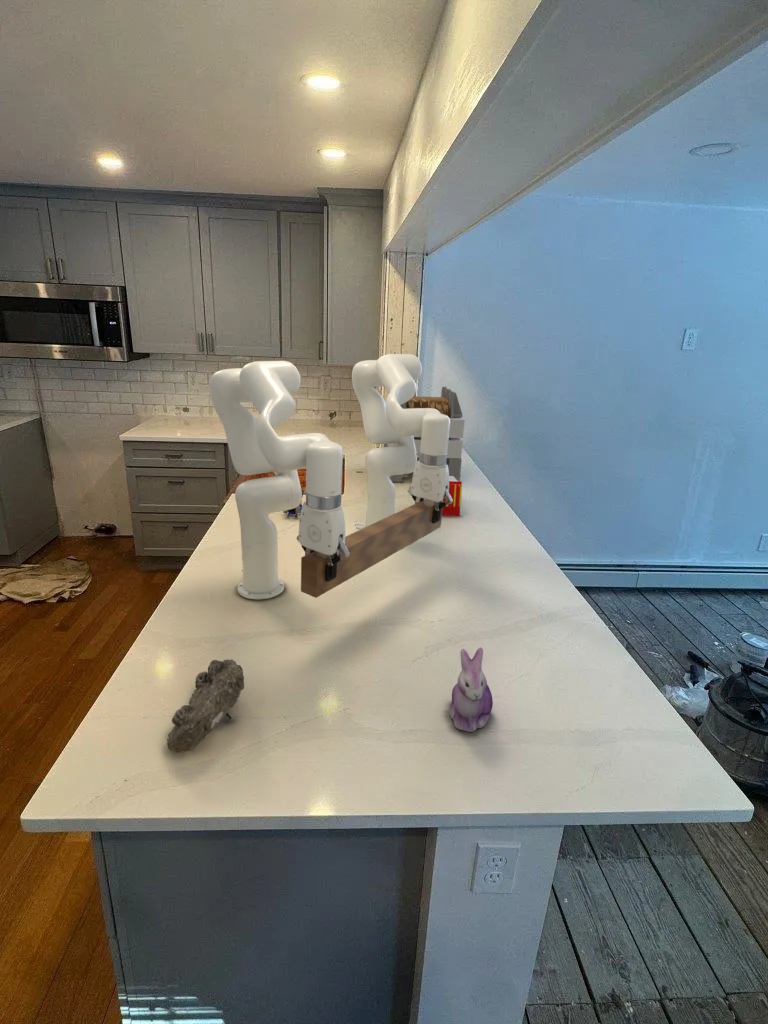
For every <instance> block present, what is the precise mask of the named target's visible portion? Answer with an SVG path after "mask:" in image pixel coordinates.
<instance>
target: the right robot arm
mask: <svg viewBox="0 0 768 1024" xmlns="http://www.w3.org/2000/svg"><path fill="white" fill-rule="evenodd" d="M422 373H423V366H422V363H421V360H420V358H419V357H417V356H416V355H415V354H412V353H387V354H384V355H382V356H380V357H378V358H377V359H368V360H361V361H358V362H357V363H355V364H354V365H353V367H352V371H351V384H352V388H353V391H354V393H355V396H356V398H357V401H358V404H359V405H360V407H359V408H360V412H361V419H362V425H363V429H364V435H365V438H366V440H367V442H368V443H369V444H371V445H384V444H391V443H396V445H397V446H395V447H384V446H380V447H374V448H372V449H370V450H369V451H368V452H367V453H366V455H365V460H364V462H365V463H364V464H365V470H366V478H367V479H366V480H367V484H366V486H367V488H366V490H367V491H366V519H365V520H366V521H364V522H362V521H355V522H354V527H355V529H356V530H361V529H363V528H365V527H367V526H369V525H371V524H374V523H376V522H378V521H380V520H382V519H384V518H386V517H388V516H391V515H393V514H395V513H396V512H395V510H396V509H395V508H396V507H395V506H396V486H395V484H394V482H392V481H391V480H390V478H389V477H390V476H392V475H401V474H403V475H409V474H412V478H411V485H410V487H409V488H408V489H407V493H408V494H409V495H410V496H411V498H412V500H413V501H414V504H416V503H418V502H420V501H422V500H424V499H427V500H431V501H434V506H435V510H433V516H432V523H434V524H435V523H436V522H438V521H439V520H440V517H441V509H442V508H443V507H445V506H446V505H448V504H450V503H452V502H453V500H452V498H451V496H450V494H449V470H448V465H446V461H447V450H448V440H449V430H450V418H449V417H448V416H446V415H444V414H441V413H440V412H439V411H438V410H436V409H434V408H410V409H403V408H402V407H401V406H400V405H402V404H404V403H405V402H407V401H409V400H410V399H411V398H412V397H413V396H415V394H416V392H417V383H416V382H417V381H419V380H420V378H421V376H422ZM375 387H376V388H377V387H378V388H379V387H382V388H383V387H384V388H385V390H386V391H387V398H386V400H385V399H384V397H383V396H382V394H381V393H380V392H379V391H378V390H377V389H375ZM413 435H421V446H420V452H419V451H417V453H416V448H415V442H414V437H413ZM417 456H419V461H417ZM443 498H445V499H446V501H445V502H443Z"/></svg>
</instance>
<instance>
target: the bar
mask: <svg viewBox="0 0 768 1024" xmlns="http://www.w3.org/2000/svg"><path fill="white" fill-rule="evenodd" d="M442 509H443V508H442ZM442 509H441V517H440V520H439V521H438V522H436V523H435V524H434V523H432V516H433V510H435V506H434V501H431V500H427V499H424V500H422V501H420V502H418V503H416V504H415V503H414V504H412V505H410V506H408V507H406V508H403V509H401V510H399V511H397V512H394V514H393V515H391V516H388V517H386V518H384V519H382V520H380V521H378V522H376V523H374V524H371V525H369V526H367V527H365V528H363V529H358V530H356V531H354V532H353V533H350V534H348V535H345V545H346V547H347V550H348V552H349V554H350V556H348V557H346V558H344V559H342V560H341V561H340V562H338V563H337V575H336V578H334V579H333V580H331V581H329V582H327V581H325V567H326V565H328V562H327V556H326V555H325V554H322V553H319V552H317V551H314V552H312V553H310V554H308V555H306V556H305V555H304V556H303V555H302V556H301V557H300V563H301V564H300V592H301V593H303V594H306V595H308V596H311V597H312V598H315V599H317V598H319V597H321V596H322V595H324V594H325V593H328V592H329V591H332V590H333V589H335V588H336V587H338V586H340V585H342V584H343V583H345V582H347V581H349V580H351V579H352V578H354V577H356V576H358V575H359V574H361V573H362V572H365V571H367V570H368V569H370V568H371V567H373V566H375V565H377V564H379V563H380V562H382V561H384V560H385V559H387V558H389V557H391V556H392V555H394V554H396V553H398V552H400V551H401V550H403V549H404V548H406V547H408V546H410V545H412V544H414V543H415V542H418V541H419V540H421V539H422V538H424V537H426V536H428V535H429V534H431V533H433V532H435V531H437V530H438V529H440V528H441V526H442V517H443V516H442ZM338 552H339V554H340V551H339V550H338ZM332 558H334V556H333V555H332Z"/></svg>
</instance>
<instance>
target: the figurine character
mask: <svg viewBox="0 0 768 1024" xmlns="http://www.w3.org/2000/svg"><path fill="white" fill-rule="evenodd" d="M301 490H302V498H303V497H304V493H303V492H304V490H305V489H301ZM302 506H303V499H302V500H301V503H300V505H299V506H298V507H296V508H294V509H290V510H285V511H282V512H283V514H287V516H286V517H287V518H290V516H291V515H293V516H294V518H297V517H298V515H299V514H301V509H302Z"/></svg>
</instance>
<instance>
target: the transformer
mask: <svg viewBox="0 0 768 1024" xmlns="http://www.w3.org/2000/svg"><path fill="white" fill-rule="evenodd" d="M440 393H441V394H440V396H415V395H414V396H413V397H412V398H411V399H410V400H409V401H407V402H405V403H404V404H402V405H400V406H401V407H402V408H403V409H410V408H434V409H436V410H438V411H439V412H440V413H441V414H444V415H446V416H448V417H449V418H450V430H449V440H448V450H447V461H446V465H448V470H449V476H453V477H454V478H455V479H456V480H458V481H459V482H461V472H462V461H463V460H462V453H463V442H464V441H463V440H462V439H463V438H464V431H465V430H464V429H465V419H464V418H463V411H462V408H461V405H460V402H459V398H458V395H457V392H455V391H453V390H452V389H451V388H447V386H442V387H441V392H440ZM413 437H414V442H415V448H416V453H417V451H419V452H420V446H421V435H413ZM395 446H397V445H396V443H391V444H383V447H395ZM417 461H419V456H417ZM403 475H404V474H401V475H392V476H390V477H389V478H390V480H391V481H392V483H402V482H403Z"/></svg>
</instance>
